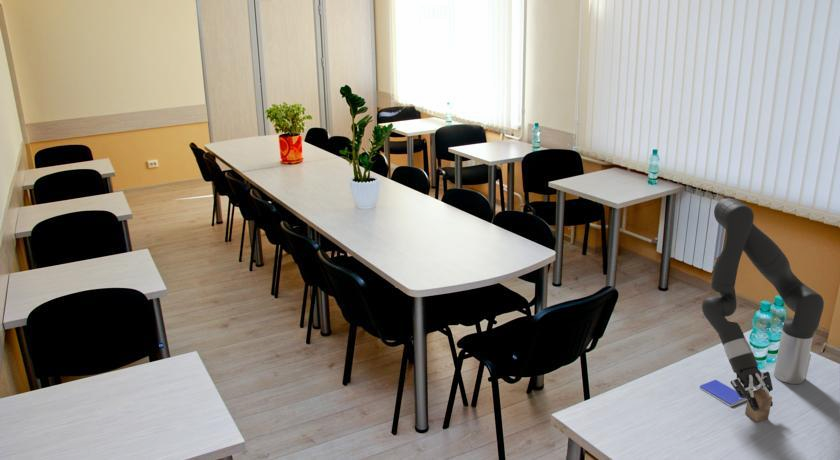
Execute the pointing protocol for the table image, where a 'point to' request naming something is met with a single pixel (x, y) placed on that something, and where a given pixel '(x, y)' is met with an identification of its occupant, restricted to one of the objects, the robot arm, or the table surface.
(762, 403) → the walnut block
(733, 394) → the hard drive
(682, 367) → the table surface
